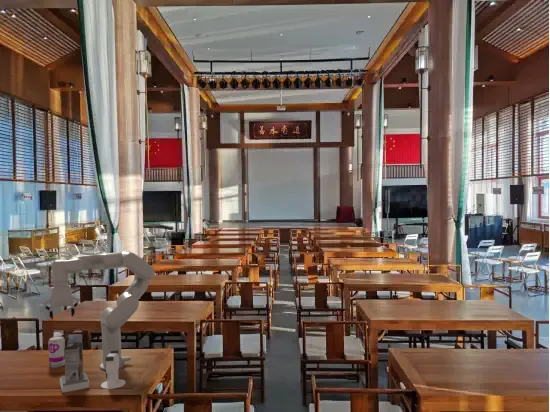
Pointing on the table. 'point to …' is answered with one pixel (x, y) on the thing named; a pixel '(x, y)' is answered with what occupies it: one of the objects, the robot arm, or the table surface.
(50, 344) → the supplement can
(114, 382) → the white upright piece
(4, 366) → the table surface
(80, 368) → the coffee box
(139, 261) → the robot arm
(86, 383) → the pedestal
